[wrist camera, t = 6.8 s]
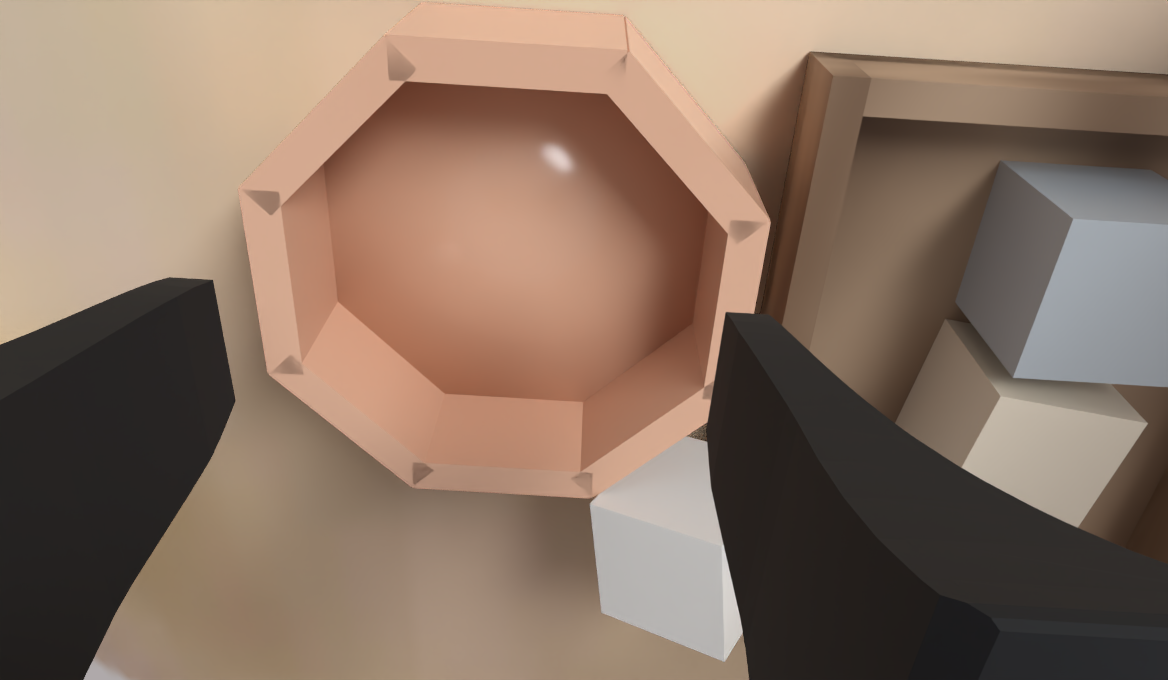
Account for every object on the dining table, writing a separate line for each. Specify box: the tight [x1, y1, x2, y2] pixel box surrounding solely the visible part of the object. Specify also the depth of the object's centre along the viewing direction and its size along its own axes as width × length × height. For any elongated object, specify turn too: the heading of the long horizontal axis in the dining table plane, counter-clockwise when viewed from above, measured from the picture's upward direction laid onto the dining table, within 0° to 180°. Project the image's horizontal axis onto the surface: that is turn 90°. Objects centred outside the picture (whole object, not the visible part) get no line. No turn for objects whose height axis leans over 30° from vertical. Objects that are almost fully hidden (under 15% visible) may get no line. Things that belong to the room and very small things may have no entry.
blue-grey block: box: [955, 160, 1168, 387], centre depth 18 cm, size 3×4×3 cm
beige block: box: [895, 319, 1148, 528], centre depth 20 cm, size 3×4×3 cm
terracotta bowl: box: [238, 2, 771, 499], centre depth 19 cm, size 10×10×4 cm
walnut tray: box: [760, 52, 1168, 564], centre depth 21 cm, size 12×16×2 cm
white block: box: [590, 436, 743, 662], centre depth 21 cm, size 3×4×3 cm
